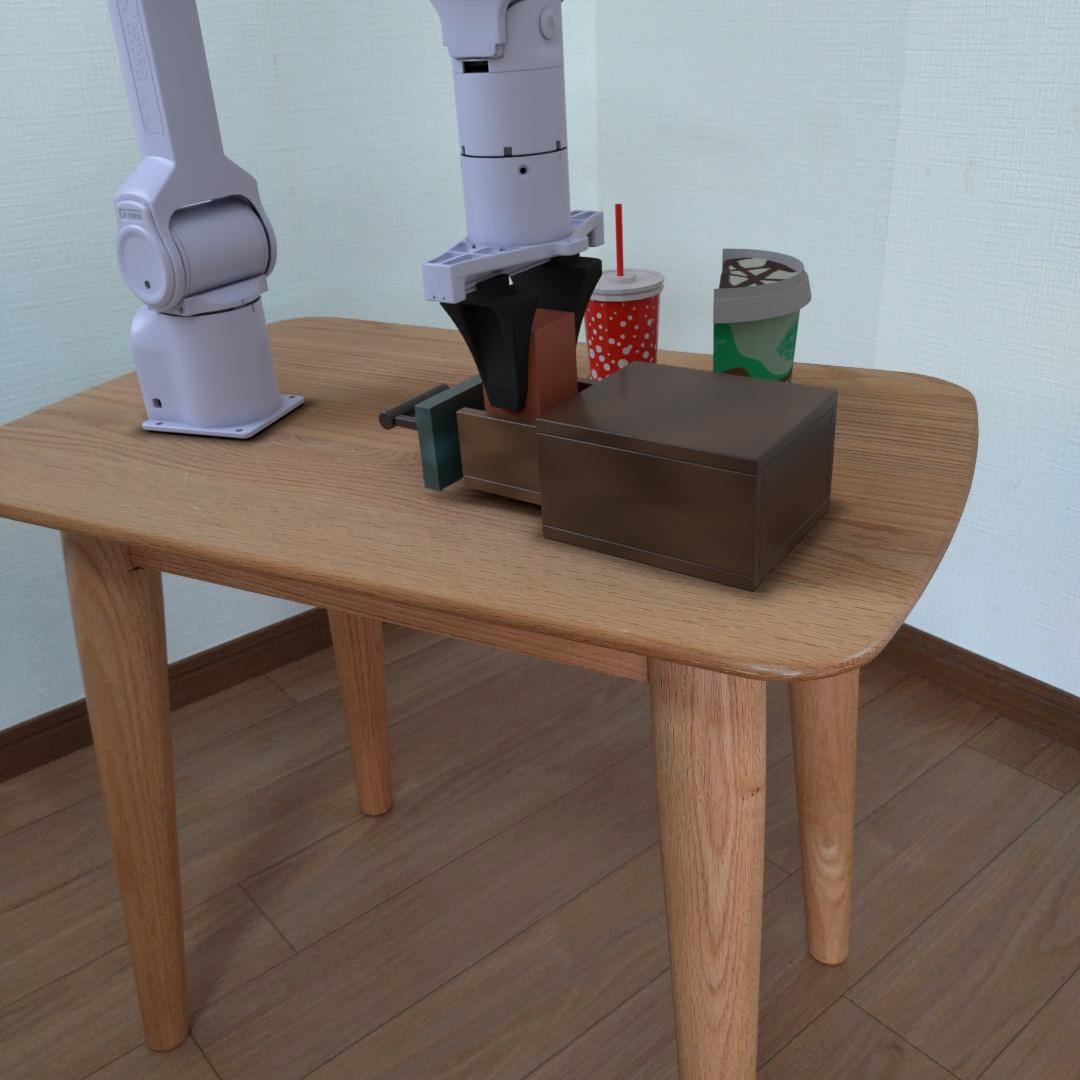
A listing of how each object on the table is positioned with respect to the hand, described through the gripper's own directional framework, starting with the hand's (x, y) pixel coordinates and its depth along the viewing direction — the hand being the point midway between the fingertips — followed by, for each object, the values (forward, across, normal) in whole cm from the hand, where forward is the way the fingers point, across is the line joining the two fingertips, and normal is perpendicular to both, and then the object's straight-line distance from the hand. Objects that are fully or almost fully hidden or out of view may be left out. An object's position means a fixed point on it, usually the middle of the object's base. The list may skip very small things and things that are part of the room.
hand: (530, 394), depth 61 cm
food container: (+6, +18, -7) cm, 20 cm away
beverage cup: (+6, +16, +3) cm, 17 cm away
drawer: (+5, 0, +2) cm, 5 cm away
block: (+1, 0, 0) cm, 1 cm away
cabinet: (+6, 0, -10) cm, 12 cm away
